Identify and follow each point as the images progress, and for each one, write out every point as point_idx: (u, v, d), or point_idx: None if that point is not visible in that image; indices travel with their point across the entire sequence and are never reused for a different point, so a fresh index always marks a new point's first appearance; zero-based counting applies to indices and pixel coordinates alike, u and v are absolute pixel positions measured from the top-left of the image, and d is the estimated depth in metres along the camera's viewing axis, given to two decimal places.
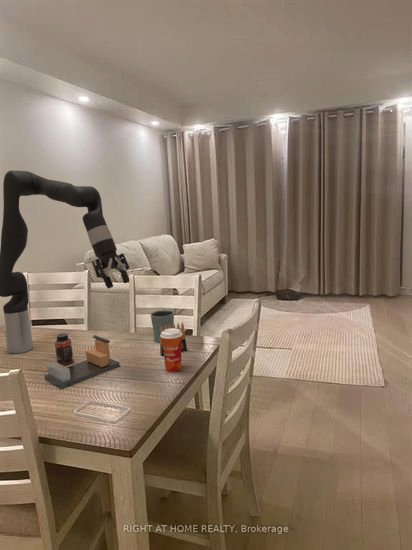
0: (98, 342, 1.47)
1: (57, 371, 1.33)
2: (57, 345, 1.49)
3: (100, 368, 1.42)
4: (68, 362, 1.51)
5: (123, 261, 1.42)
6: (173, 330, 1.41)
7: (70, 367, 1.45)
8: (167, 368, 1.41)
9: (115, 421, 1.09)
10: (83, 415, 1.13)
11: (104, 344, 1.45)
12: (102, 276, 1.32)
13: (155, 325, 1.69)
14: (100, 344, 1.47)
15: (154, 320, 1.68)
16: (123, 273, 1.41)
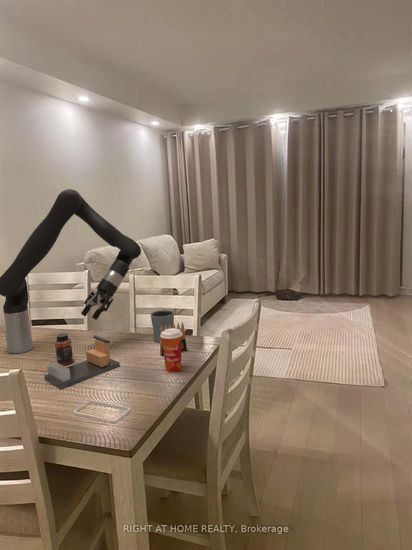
0: (98, 342, 1.47)
1: (57, 371, 1.33)
2: (57, 345, 1.49)
3: (100, 368, 1.42)
4: (68, 362, 1.51)
5: None
6: (173, 330, 1.41)
7: (70, 367, 1.45)
8: (167, 368, 1.41)
9: (115, 421, 1.09)
10: (83, 415, 1.13)
11: (104, 344, 1.45)
12: (103, 310, 1.56)
13: (155, 325, 1.69)
14: (100, 344, 1.47)
15: (154, 320, 1.68)
16: (88, 308, 1.62)
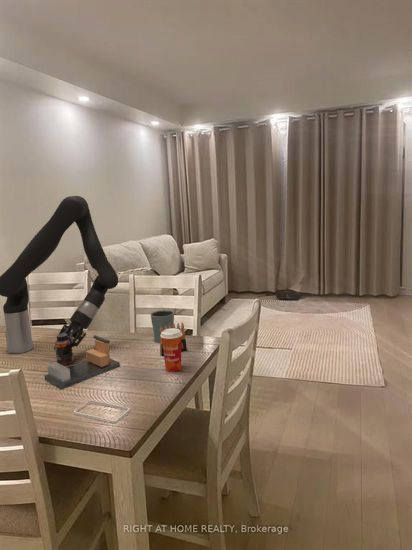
0: (98, 342, 1.47)
1: (57, 371, 1.33)
2: (57, 344, 1.49)
3: (100, 368, 1.42)
4: (68, 362, 1.51)
5: None
6: (173, 330, 1.41)
7: (70, 367, 1.45)
8: (167, 368, 1.41)
9: (115, 421, 1.09)
10: (83, 415, 1.13)
11: (104, 344, 1.45)
12: (74, 345, 1.49)
13: (155, 325, 1.69)
14: (100, 344, 1.47)
15: (154, 320, 1.68)
16: None
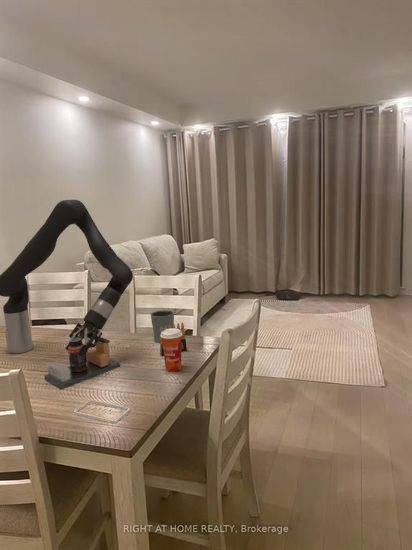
0: (98, 342, 1.47)
1: (57, 371, 1.33)
2: (70, 350, 1.38)
3: (100, 368, 1.42)
4: (82, 369, 1.40)
5: (78, 332, 1.47)
6: (173, 330, 1.41)
7: None
8: (167, 368, 1.41)
9: (115, 421, 1.09)
10: (83, 415, 1.13)
11: (104, 344, 1.45)
12: (90, 346, 1.37)
13: (155, 325, 1.69)
14: (100, 344, 1.47)
15: (154, 320, 1.68)
16: None
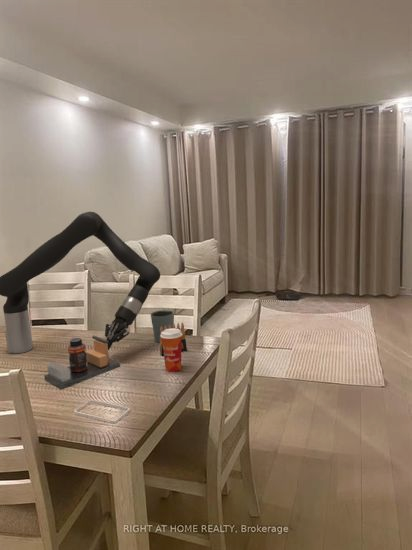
0: (97, 342, 1.47)
1: (57, 371, 1.33)
2: (70, 350, 1.38)
3: (100, 368, 1.42)
4: (82, 369, 1.40)
5: None
6: (173, 330, 1.41)
7: None
8: (167, 368, 1.41)
9: (115, 421, 1.09)
10: (83, 415, 1.13)
11: (103, 344, 1.45)
12: (115, 341, 1.49)
13: (155, 325, 1.69)
14: (99, 344, 1.46)
15: (154, 320, 1.68)
16: None
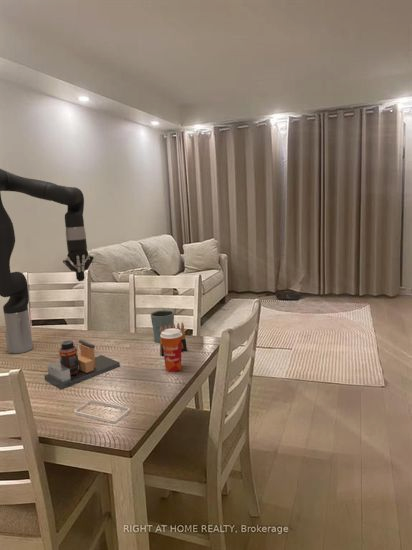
0: (83, 347, 1.43)
1: (57, 371, 1.33)
2: (62, 353, 1.36)
3: (100, 368, 1.42)
4: (74, 372, 1.38)
5: (88, 261, 1.63)
6: (173, 330, 1.41)
7: None
8: (167, 368, 1.41)
9: (114, 421, 1.09)
10: (83, 415, 1.13)
11: (89, 349, 1.41)
12: None
13: (155, 325, 1.69)
14: (85, 349, 1.42)
15: (154, 320, 1.68)
16: None
